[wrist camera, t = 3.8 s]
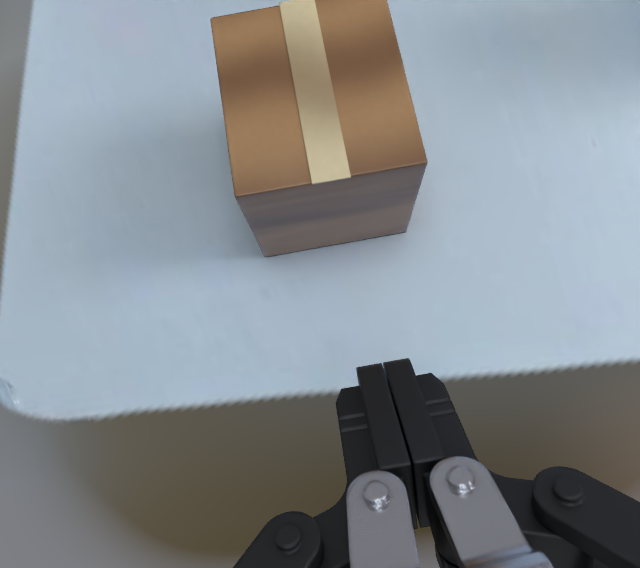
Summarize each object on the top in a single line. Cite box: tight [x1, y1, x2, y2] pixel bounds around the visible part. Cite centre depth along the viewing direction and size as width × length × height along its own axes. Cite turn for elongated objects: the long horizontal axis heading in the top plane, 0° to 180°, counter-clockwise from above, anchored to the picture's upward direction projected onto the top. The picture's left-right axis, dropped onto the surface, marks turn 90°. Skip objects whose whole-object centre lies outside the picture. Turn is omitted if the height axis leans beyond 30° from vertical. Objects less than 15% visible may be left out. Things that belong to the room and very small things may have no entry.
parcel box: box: [211, 0, 427, 257], centre depth 26 cm, size 9×8×8 cm
